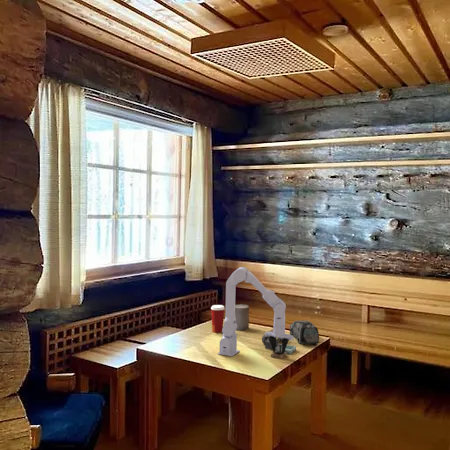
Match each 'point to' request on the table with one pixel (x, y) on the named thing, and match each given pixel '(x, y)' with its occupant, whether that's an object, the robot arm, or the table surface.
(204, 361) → the table surface
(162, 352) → the table surface
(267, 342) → the chock
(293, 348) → the tray
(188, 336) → the table surface
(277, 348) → the pin
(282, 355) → the pin holder
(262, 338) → the trolley
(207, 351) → the table surface
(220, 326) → the coffee cup
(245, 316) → the pillar candle
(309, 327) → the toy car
